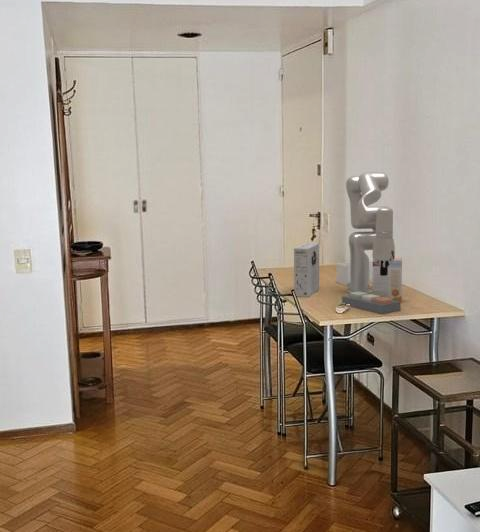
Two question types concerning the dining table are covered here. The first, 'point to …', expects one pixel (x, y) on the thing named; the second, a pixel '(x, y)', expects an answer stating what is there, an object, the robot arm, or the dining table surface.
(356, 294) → the left key
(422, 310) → the dining table surface
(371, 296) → the middle key
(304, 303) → the dining table surface
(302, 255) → the cereal box
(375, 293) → the cracker box
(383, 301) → the right key
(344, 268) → the storage container
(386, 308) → the key panel
